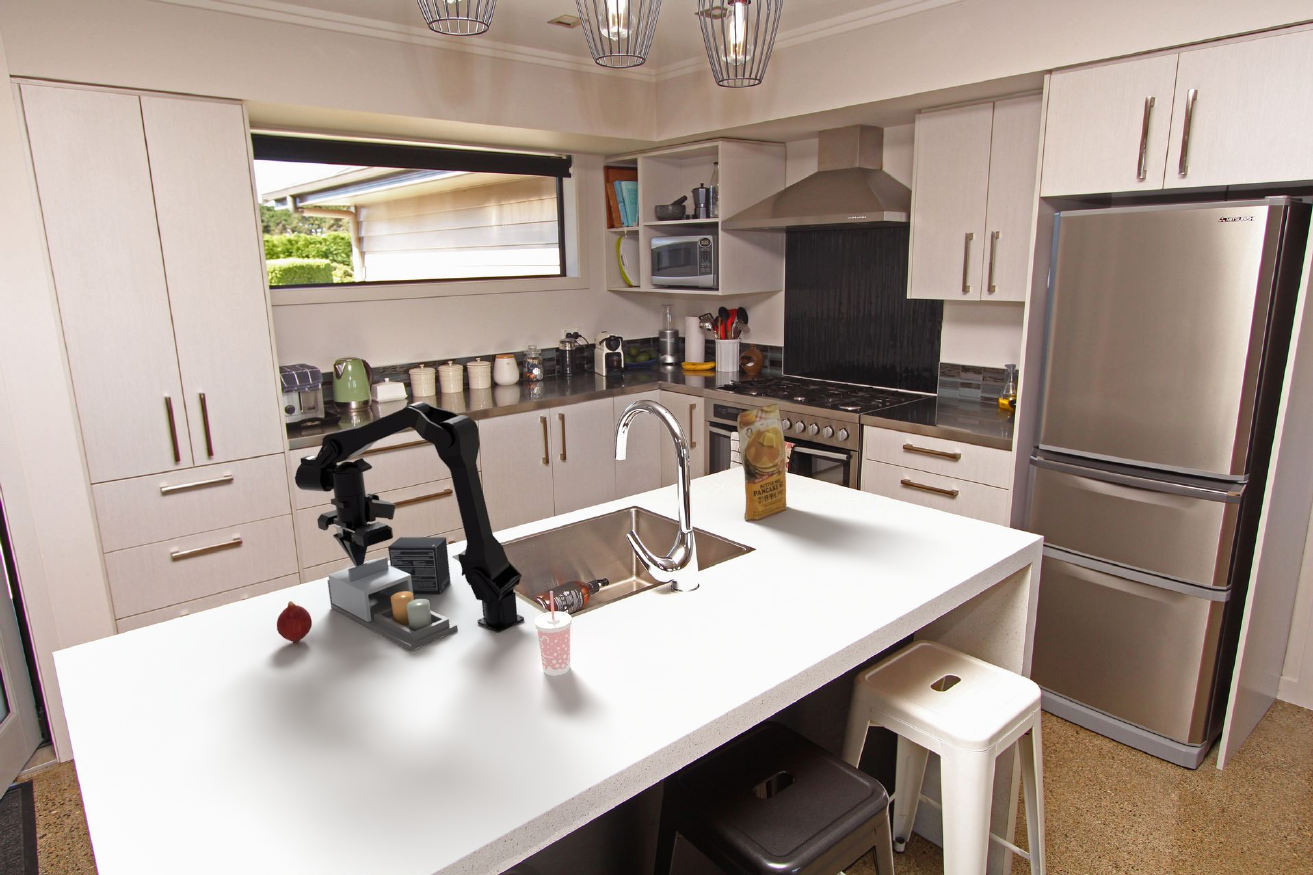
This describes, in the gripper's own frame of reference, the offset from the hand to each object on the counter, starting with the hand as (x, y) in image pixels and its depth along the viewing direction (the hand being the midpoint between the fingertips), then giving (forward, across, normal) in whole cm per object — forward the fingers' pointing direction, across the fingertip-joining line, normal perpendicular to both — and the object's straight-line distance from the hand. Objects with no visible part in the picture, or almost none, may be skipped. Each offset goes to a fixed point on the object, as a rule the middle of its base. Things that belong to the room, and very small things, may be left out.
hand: (359, 567), depth 158 cm
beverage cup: (+9, -50, -7) cm, 51 cm away
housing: (+8, -11, 0) cm, 13 cm away
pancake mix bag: (+9, -34, -94) cm, 101 cm away
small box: (+8, -3, -12) cm, 15 cm away
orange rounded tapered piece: (+7, -15, 0) cm, 17 cm away
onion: (+8, -5, +16) cm, 19 cm away
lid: (+7, -4, 0) cm, 8 cm away
